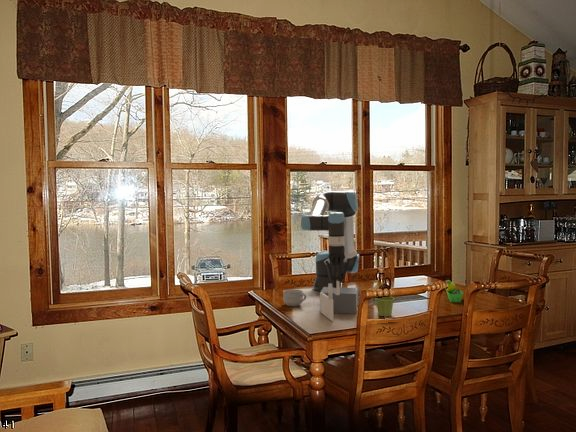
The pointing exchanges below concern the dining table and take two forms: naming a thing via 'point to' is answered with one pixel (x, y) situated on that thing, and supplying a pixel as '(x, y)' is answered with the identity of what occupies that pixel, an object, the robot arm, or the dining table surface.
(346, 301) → the box housing
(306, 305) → the dining table surface
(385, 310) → the plant pot
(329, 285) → the door
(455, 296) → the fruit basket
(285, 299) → the teacup
